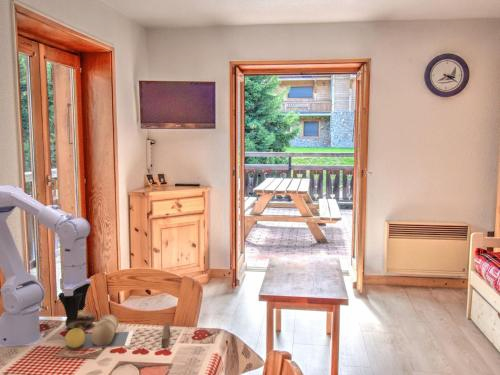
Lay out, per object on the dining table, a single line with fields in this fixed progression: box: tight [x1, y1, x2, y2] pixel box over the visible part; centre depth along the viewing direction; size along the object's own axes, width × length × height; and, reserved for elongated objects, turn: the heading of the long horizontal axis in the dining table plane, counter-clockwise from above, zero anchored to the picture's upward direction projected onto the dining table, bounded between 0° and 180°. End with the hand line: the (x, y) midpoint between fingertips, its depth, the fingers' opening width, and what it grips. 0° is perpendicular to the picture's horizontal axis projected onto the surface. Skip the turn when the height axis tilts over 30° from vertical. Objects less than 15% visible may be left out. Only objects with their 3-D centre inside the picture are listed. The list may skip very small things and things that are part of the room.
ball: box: [64, 328, 86, 348], centre depth 120 cm, size 5×5×5 cm
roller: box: [91, 313, 119, 346], centre depth 125 cm, size 6×9×6 cm, turn 8°
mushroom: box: [65, 310, 96, 332], centre depth 134 cm, size 8×8×6 cm
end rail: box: [161, 322, 171, 349], centre depth 128 cm, size 2×12×2 cm, turn 8°
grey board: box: [66, 330, 134, 350], centre depth 125 cm, size 16×10×1 cm, turn 98°
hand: (75, 314), depth 120 cm, fingers open, 7 cm apart
